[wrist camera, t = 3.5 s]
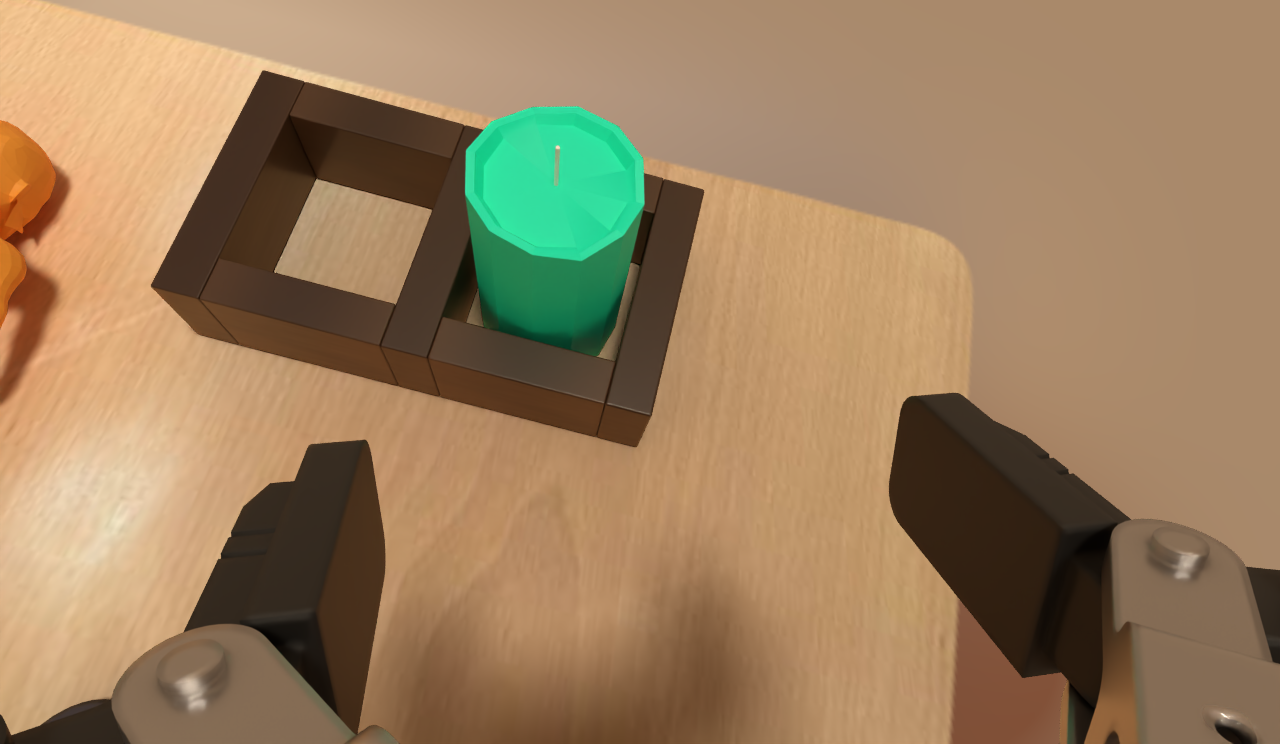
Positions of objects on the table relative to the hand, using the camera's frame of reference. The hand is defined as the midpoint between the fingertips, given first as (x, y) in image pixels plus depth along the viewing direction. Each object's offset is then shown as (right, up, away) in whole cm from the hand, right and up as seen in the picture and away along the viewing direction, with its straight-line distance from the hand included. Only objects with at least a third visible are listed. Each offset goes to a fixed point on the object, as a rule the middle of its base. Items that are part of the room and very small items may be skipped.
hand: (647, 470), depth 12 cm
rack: (-8, +5, +24) cm, 26 cm away
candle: (-4, +4, +24) cm, 25 cm away
